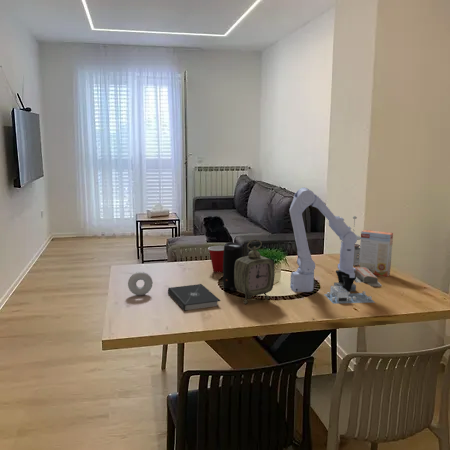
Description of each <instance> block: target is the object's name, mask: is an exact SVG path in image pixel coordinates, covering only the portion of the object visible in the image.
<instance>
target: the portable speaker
mask: <svg viewBox="0 0 450 450" xmlns="http://www.w3.org/2000/svg"><path fill="white" fill-rule="evenodd" d="M223 246H224V254H223V272H222V280H223V281H222V282H223V289H225V290H226V289H229V290H230V291H232V292H237V290H236V287H235V282H234V268H235V262H236V260H237V259H239V258H241V257H244V250H243V249H244V246H243V243H235V242H226V243H225V244H224V245H223Z"/></svg>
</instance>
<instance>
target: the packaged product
mask: <svg viewBox="0 0 450 450" xmlns="http://www.w3.org/2000/svg"><path fill="white" fill-rule="evenodd" d="M353 268H355V269H356V270H354V273H355V276H356V279H355V280H354V282H355V283H362V284H367V285H369V286H370V287H379V288H380V287H381V288H382V286H383V285H382V284H381V283H380V282H379V278H378V276H377V275H374V274H373V273H372V272H371V271H369V270H368V269H367V268H365V267H359V266H353Z"/></svg>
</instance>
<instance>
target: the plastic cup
mask: <svg viewBox="0 0 450 450" xmlns="http://www.w3.org/2000/svg"><path fill="white" fill-rule="evenodd" d="M224 246H225V245H214V246H209V247H208V248H207V250H208V251H209V255H210V260H211V261H210V263H211V265H212V271H213V272H215V273H223V254H224Z"/></svg>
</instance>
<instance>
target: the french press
mask: <svg viewBox="0 0 450 450" xmlns="http://www.w3.org/2000/svg"><path fill="white" fill-rule="evenodd" d="M357 218H358V217H357V216H355V215H353V217H352V219H354V221H353V226H355V223H356V222H355V221H356V219H357ZM356 237H357V241H361V235H358V234H356ZM359 255H360V244H359V243H355V246H354V263H353V266H359Z"/></svg>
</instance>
